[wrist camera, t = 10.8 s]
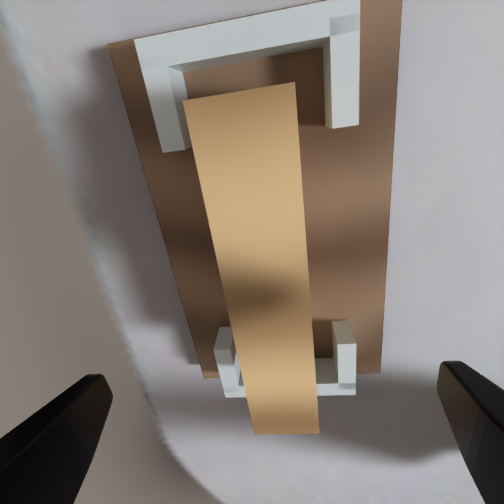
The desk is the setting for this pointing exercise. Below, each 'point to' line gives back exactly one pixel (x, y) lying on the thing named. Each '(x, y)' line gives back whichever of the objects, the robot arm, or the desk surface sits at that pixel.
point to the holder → (311, 155)
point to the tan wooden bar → (260, 246)
